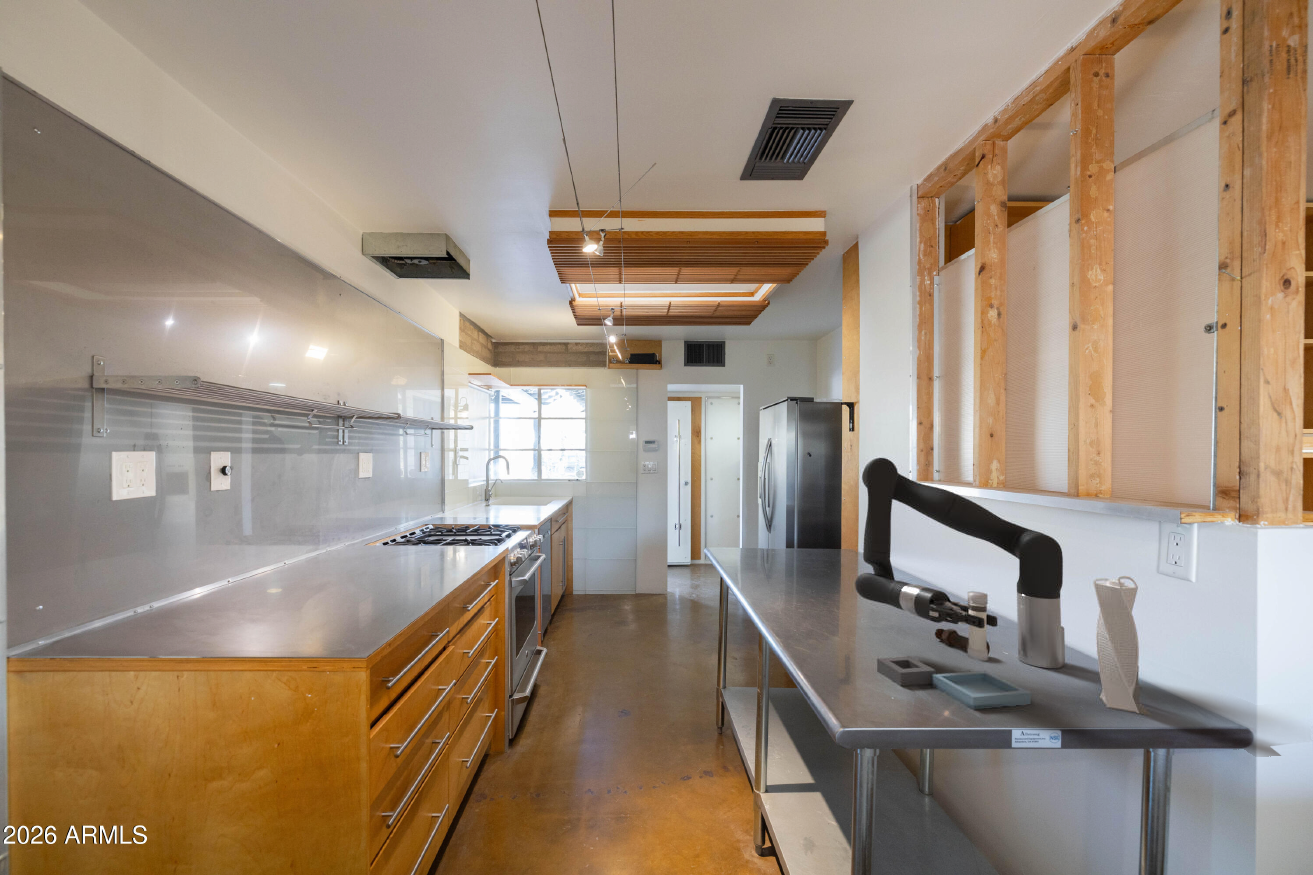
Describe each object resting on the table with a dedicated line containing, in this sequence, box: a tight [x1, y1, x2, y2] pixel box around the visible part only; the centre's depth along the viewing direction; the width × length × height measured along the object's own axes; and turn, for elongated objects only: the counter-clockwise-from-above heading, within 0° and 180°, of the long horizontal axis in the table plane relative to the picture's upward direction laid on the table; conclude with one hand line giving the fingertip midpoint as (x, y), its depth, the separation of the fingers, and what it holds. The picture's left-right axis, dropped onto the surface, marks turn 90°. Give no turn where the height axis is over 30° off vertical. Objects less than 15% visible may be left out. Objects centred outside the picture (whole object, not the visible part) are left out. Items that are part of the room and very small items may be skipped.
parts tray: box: [932, 670, 1031, 710], centre depth 118 cm, size 14×12×2 cm
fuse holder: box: [876, 655, 936, 687], centre depth 127 cm, size 9×9×3 cm
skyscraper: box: [1092, 575, 1152, 716], centre depth 114 cm, size 8×8×28 cm
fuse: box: [967, 590, 989, 662], centre depth 118 cm, size 4×4×14 cm
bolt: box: [934, 628, 991, 656], centre depth 148 cm, size 6×5×15 cm
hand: (989, 622), depth 116 cm, fingers closed on fuse, 3 cm apart
